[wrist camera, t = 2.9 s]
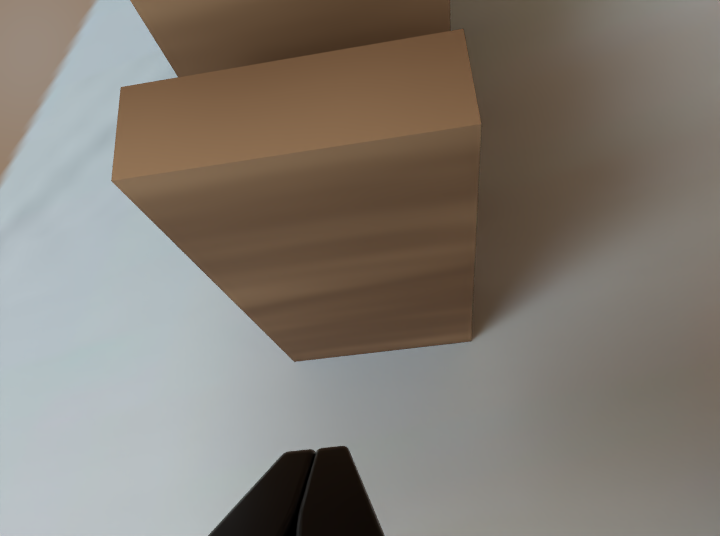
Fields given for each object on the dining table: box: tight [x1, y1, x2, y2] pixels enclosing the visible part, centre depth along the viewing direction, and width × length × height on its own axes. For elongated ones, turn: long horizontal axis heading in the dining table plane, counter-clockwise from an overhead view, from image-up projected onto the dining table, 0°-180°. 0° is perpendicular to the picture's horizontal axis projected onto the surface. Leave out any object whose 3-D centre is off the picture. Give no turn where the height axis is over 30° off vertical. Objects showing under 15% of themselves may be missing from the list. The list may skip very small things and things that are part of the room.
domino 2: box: [111, 29, 481, 362], centre depth 13 cm, size 2×5×10 cm, turn 94°
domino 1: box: [130, 0, 450, 77], centre depth 14 cm, size 2×5×10 cm, turn 94°
